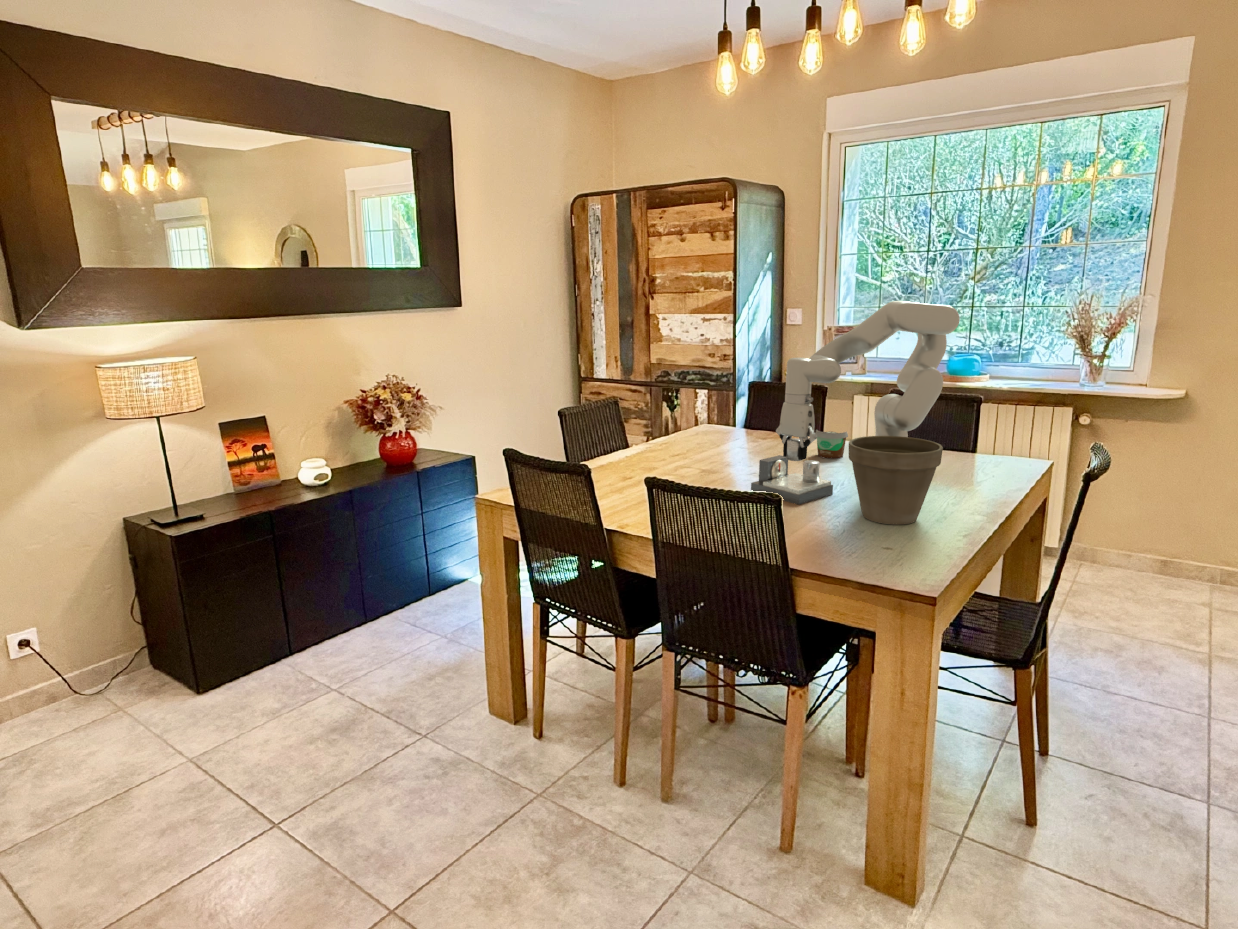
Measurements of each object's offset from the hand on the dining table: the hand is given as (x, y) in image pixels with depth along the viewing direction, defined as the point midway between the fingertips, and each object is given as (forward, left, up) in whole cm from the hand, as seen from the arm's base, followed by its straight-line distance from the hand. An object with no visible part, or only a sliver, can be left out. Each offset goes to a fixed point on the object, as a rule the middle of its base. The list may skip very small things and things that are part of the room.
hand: (794, 457), depth 231 cm
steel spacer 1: (0, 0, -1) cm, 1 cm away
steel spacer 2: (0, -8, -9) cm, 12 cm away
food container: (+25, -53, -13) cm, 60 cm away
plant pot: (-30, -5, -13) cm, 33 cm away
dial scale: (+4, -4, -13) cm, 14 cm away
